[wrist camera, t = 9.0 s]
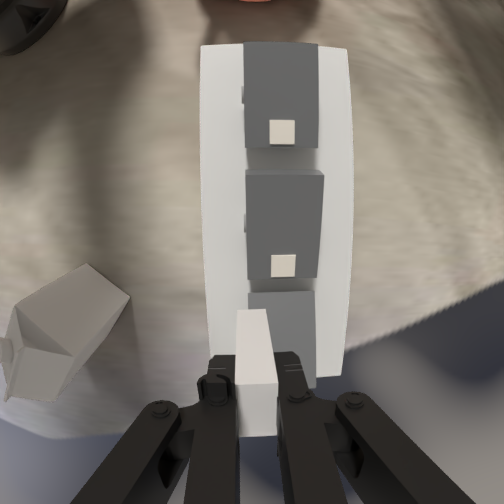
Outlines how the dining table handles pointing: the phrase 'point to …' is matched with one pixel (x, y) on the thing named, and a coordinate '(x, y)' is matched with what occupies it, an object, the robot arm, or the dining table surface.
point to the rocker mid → (283, 222)
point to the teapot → (254, 0)
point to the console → (234, 200)
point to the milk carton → (58, 333)
